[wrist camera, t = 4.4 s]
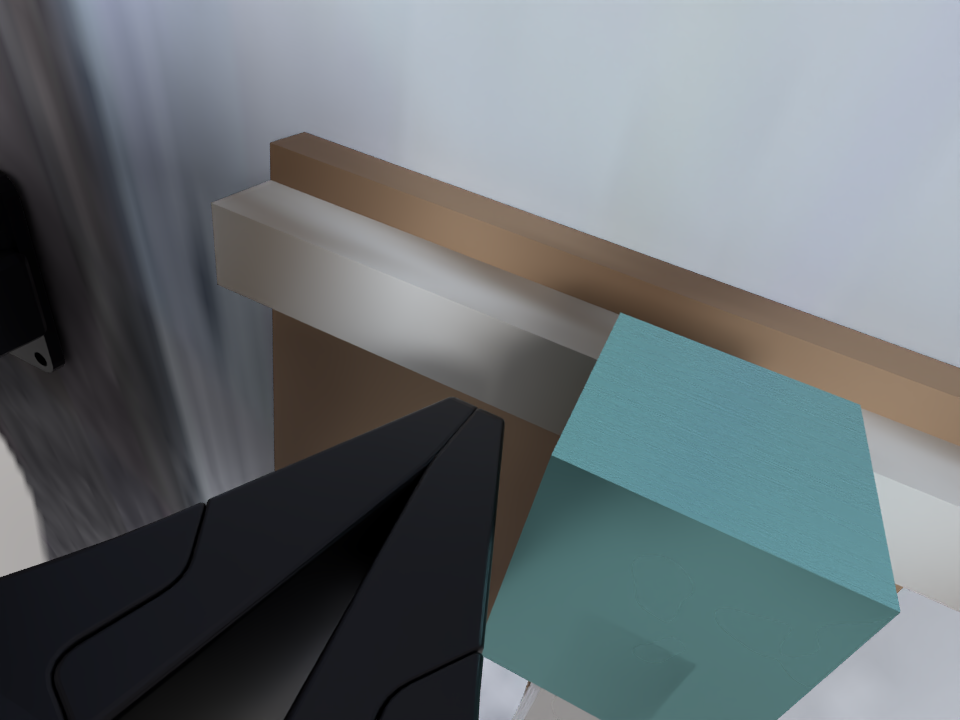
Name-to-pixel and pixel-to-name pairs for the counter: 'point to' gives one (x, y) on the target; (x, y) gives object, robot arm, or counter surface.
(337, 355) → the plate
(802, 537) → the leg
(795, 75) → the counter surface
